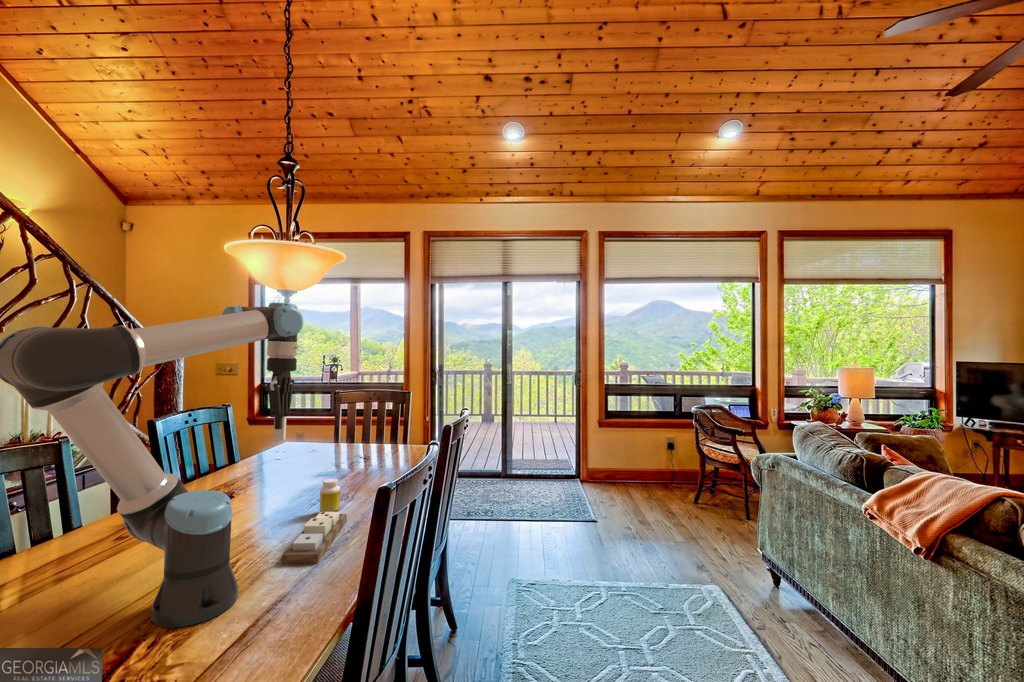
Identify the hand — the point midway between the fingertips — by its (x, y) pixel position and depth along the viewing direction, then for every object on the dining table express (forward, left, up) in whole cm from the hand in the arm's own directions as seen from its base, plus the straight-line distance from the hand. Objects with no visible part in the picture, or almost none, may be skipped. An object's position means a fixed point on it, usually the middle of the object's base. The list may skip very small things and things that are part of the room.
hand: (279, 439), depth 125 cm
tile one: (-7, -11, -28) cm, 31 cm away
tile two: (+1, -11, -27) cm, 29 cm away
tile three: (+9, -11, -28) cm, 32 cm away
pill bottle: (+22, -8, -30) cm, 38 cm away
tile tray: (+1, -11, -29) cm, 31 cm away
